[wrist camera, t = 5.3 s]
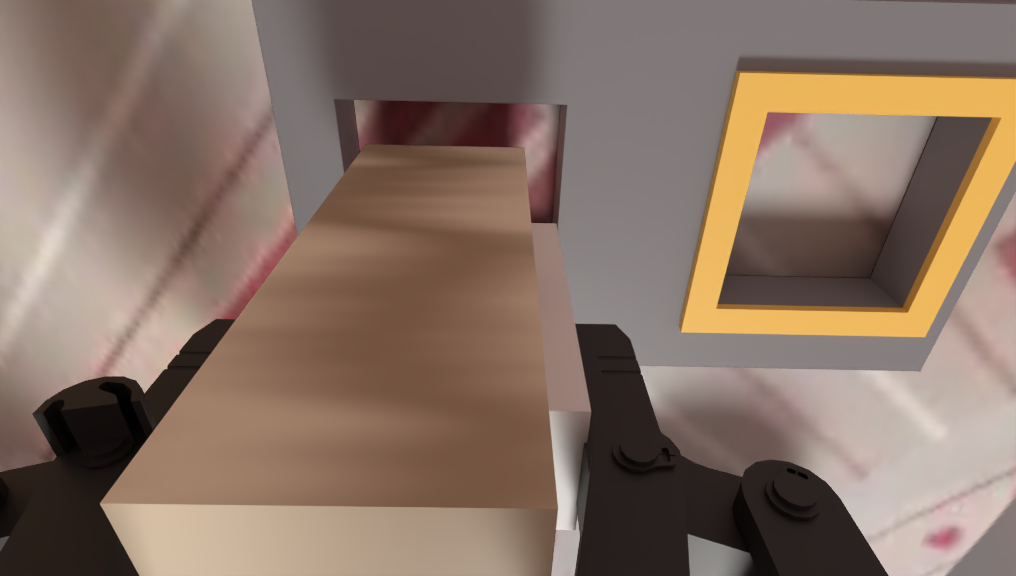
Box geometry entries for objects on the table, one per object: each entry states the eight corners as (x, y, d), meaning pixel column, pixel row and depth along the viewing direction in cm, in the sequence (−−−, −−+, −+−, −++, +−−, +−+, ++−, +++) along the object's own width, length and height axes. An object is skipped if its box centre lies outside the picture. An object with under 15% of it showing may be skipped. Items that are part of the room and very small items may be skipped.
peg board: (336, 327, 22) (319, 364, 20) (277, -19, 16) (243, -15, 14) (888, 338, 22) (925, 376, 20) (1048, 0, 16) (1124, 8, 14)
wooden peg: (381, 280, 18) (214, 714, 8) (365, 144, 16) (100, 503, 5) (519, 283, 18) (535, 715, 8) (524, 147, 16) (558, 508, 5)
